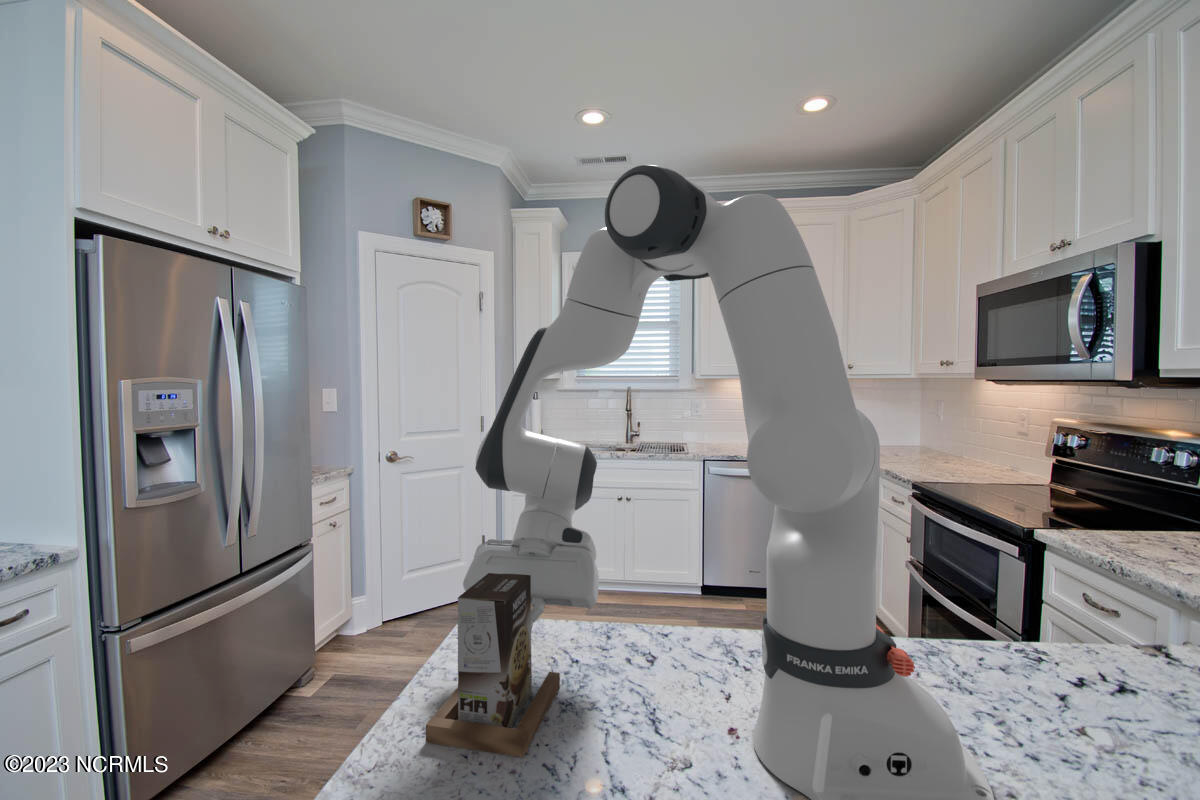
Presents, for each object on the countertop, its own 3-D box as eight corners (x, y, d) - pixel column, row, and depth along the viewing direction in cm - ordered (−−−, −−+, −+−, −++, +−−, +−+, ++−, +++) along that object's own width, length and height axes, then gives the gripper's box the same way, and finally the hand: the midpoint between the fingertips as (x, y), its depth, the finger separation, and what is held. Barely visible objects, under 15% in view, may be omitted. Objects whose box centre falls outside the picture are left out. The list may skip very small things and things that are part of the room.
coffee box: (507, 739, 58) (505, 601, 58) (456, 731, 59) (454, 597, 59) (534, 693, 67) (532, 573, 67) (489, 687, 68) (488, 570, 68)
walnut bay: (559, 687, 68) (559, 672, 68) (523, 757, 55) (523, 739, 55) (478, 677, 71) (478, 663, 71) (425, 742, 58) (425, 724, 58)
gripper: (473, 528, 79) (442, 617, 69) (599, 534, 75) (584, 629, 65) (486, 548, 83) (458, 634, 74) (606, 555, 79) (593, 647, 69)
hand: (518, 632), depth 69 cm, fingers closed
